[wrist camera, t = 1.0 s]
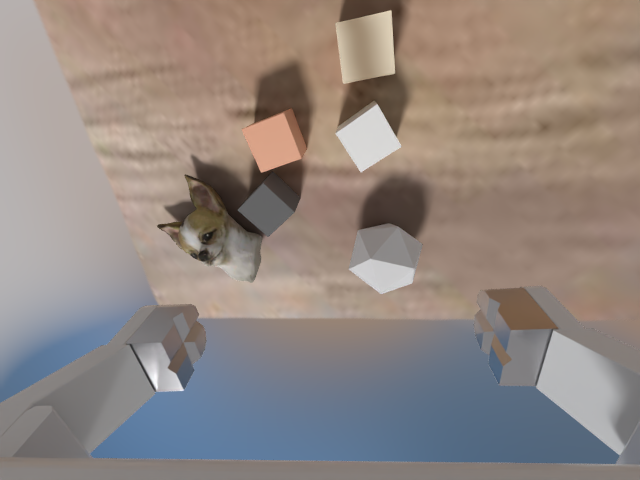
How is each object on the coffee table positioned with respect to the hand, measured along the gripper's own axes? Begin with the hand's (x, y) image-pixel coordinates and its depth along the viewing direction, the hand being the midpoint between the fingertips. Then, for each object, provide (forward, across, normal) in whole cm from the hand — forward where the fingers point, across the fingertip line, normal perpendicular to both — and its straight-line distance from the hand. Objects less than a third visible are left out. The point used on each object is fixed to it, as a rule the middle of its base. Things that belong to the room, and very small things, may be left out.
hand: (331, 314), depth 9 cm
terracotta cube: (+32, +7, -1) cm, 33 cm away
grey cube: (+32, -3, 0) cm, 32 cm away
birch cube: (+32, -3, -8) cm, 33 cm away
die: (+32, -4, +15) cm, 36 cm away
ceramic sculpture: (+33, +18, +11) cm, 39 cm away
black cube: (+32, +10, +7) cm, 35 cm away
